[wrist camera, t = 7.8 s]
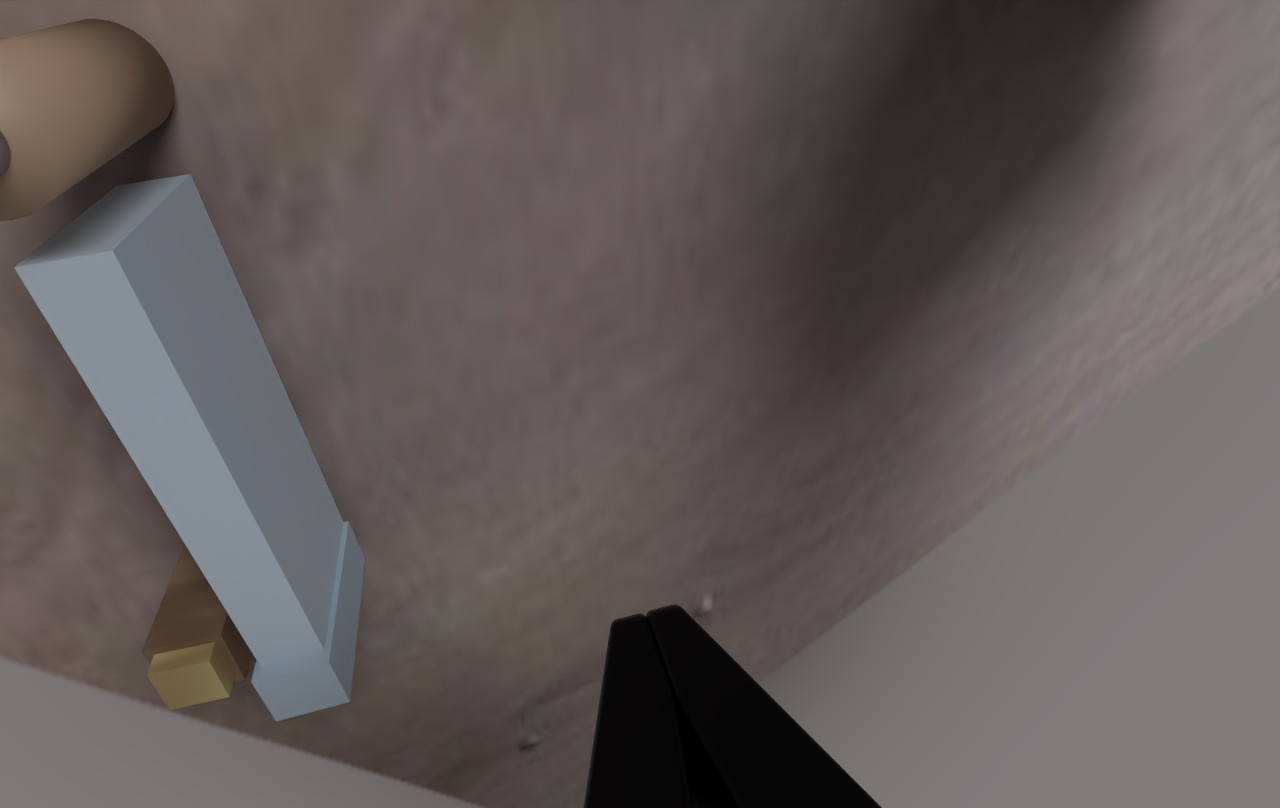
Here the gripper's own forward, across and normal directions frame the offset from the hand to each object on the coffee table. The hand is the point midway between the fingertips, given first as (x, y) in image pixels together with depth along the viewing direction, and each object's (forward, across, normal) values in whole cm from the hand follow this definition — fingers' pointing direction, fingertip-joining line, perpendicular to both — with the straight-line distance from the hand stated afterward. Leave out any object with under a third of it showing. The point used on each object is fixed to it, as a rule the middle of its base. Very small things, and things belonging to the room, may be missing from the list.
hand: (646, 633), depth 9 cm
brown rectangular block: (+13, +10, +7) cm, 18 cm away
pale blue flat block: (+13, +8, +1) cm, 15 cm away
